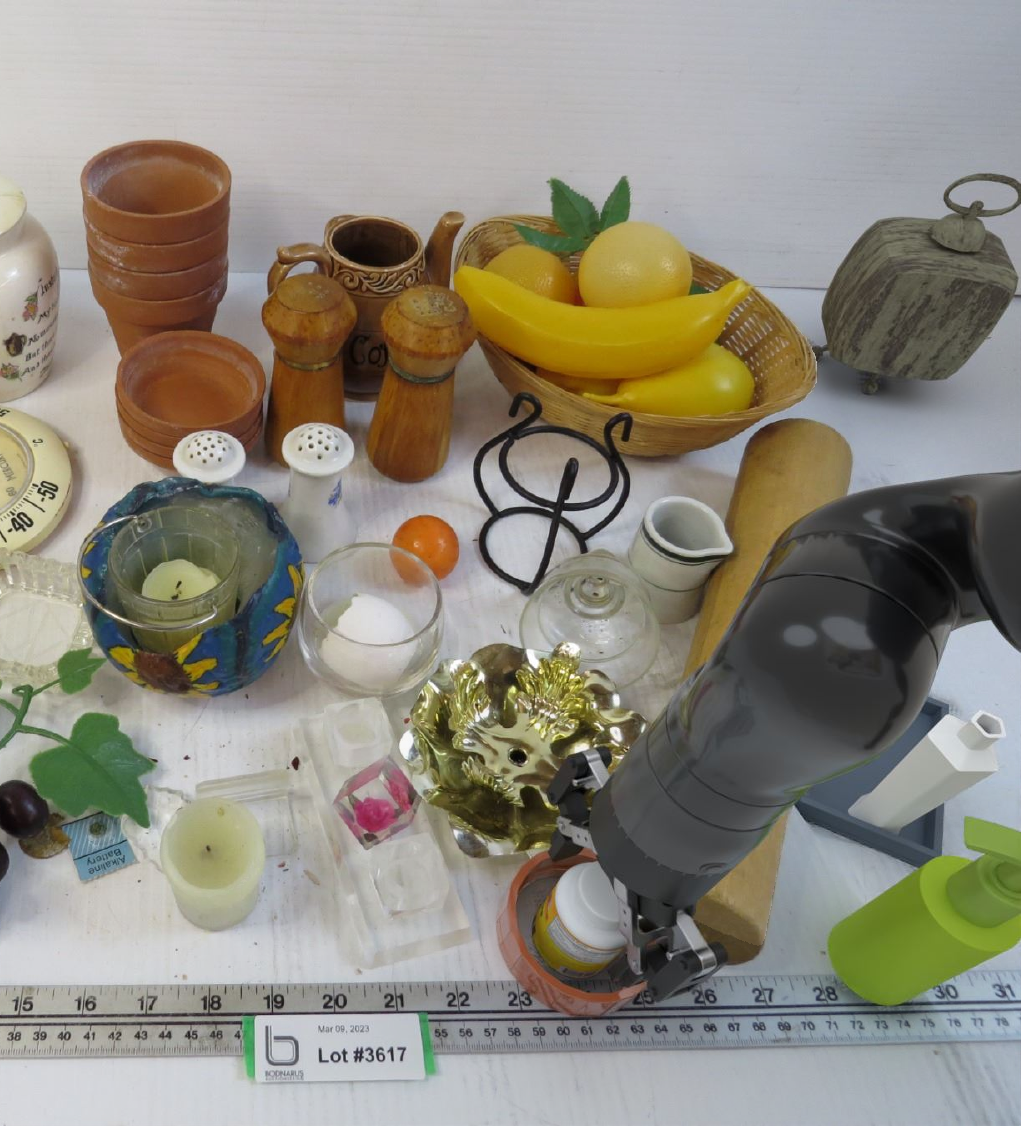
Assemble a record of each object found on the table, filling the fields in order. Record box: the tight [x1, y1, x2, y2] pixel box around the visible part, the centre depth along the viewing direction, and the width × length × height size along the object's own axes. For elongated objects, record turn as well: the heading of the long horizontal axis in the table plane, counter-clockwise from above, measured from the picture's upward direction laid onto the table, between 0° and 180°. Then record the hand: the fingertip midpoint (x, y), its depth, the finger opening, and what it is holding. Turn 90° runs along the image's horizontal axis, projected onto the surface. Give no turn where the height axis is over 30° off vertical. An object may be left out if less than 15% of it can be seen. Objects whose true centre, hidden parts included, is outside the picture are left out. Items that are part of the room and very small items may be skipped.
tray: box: [793, 696, 950, 869], centre depth 78 cm, size 15×10×2 cm
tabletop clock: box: [811, 172, 1021, 395], centre depth 100 cm, size 14×9×25 cm, turn 77°
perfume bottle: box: [848, 709, 1007, 835], centre depth 69 cm, size 5×4×15 cm
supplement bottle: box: [531, 861, 642, 980], centre depth 64 cm, size 6×6×10 cm
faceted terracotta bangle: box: [495, 847, 655, 1018], centre depth 66 cm, size 10×10×5 cm
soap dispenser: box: [827, 815, 1021, 1007], centre depth 60 cm, size 6×7×20 cm
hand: (591, 911), depth 63 cm, fingers open, 7 cm apart
